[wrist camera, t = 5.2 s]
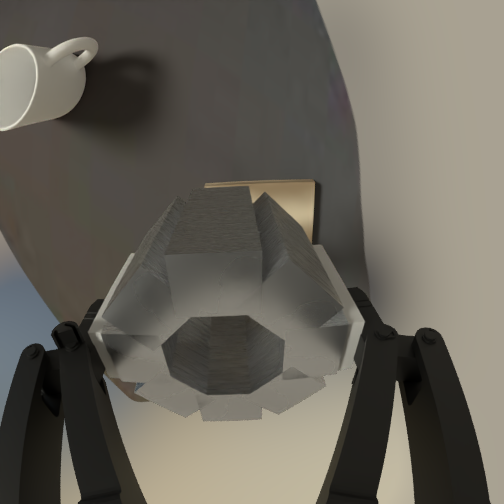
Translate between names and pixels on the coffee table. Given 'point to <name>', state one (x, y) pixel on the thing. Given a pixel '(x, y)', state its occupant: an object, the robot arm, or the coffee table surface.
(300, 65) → the coffee table surface
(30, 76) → the mug
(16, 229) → the coffee table surface
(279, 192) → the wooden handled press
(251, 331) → the studded hollow tube
